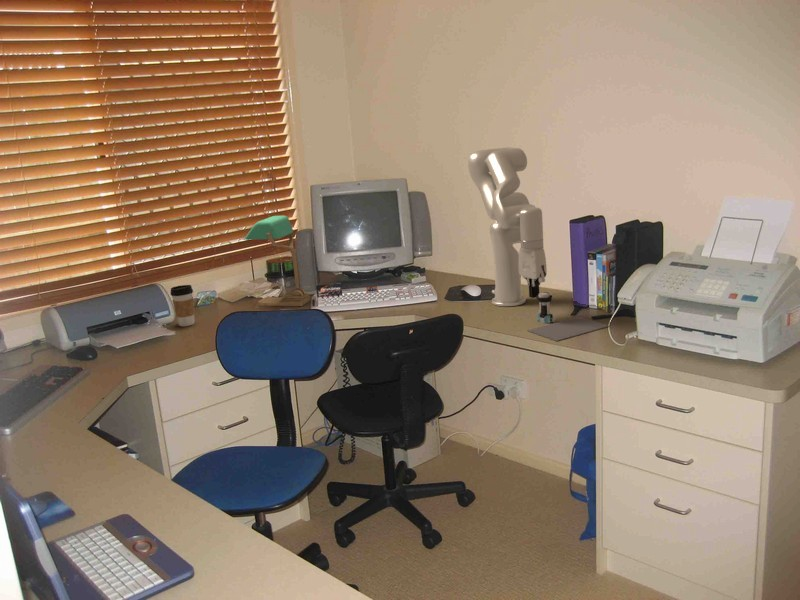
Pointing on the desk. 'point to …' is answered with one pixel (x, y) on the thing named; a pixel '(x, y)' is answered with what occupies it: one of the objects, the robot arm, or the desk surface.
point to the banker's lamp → (275, 230)
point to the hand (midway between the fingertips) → (534, 296)
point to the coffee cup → (183, 304)
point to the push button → (544, 307)
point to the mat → (567, 328)
